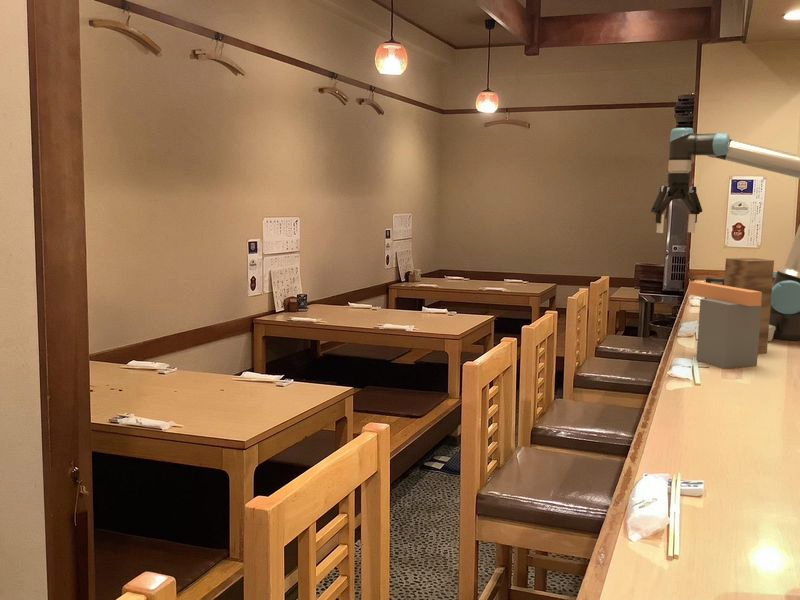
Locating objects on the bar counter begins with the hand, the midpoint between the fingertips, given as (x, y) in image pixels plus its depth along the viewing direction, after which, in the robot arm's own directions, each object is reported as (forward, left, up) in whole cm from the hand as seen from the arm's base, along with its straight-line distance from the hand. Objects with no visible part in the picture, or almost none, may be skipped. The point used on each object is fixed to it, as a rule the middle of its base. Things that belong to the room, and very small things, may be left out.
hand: (675, 232), depth 277 cm
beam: (-4, +45, -18) cm, 49 cm away
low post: (-6, +48, -37) cm, 61 cm away
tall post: (-17, +29, -37) cm, 50 cm away
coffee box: (-28, -42, -37) cm, 62 cm away
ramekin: (-28, +8, -37) cm, 47 cm away
